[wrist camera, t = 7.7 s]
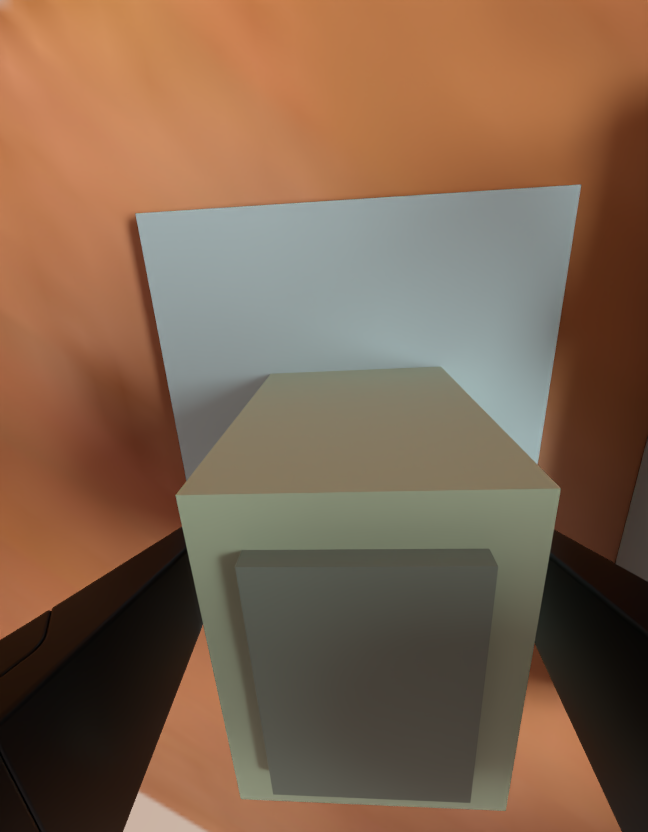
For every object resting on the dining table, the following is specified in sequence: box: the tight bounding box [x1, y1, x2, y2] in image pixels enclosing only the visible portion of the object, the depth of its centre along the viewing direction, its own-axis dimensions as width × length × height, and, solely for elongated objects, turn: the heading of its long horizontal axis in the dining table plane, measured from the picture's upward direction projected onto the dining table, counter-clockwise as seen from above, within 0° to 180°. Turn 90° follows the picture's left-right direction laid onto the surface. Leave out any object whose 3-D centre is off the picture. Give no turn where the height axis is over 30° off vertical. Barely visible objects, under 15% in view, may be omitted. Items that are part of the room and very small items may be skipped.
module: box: [175, 367, 561, 811], centre depth 8 cm, size 6×4×6 cm
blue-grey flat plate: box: [136, 185, 581, 481], centre depth 11 cm, size 14×10×1 cm
